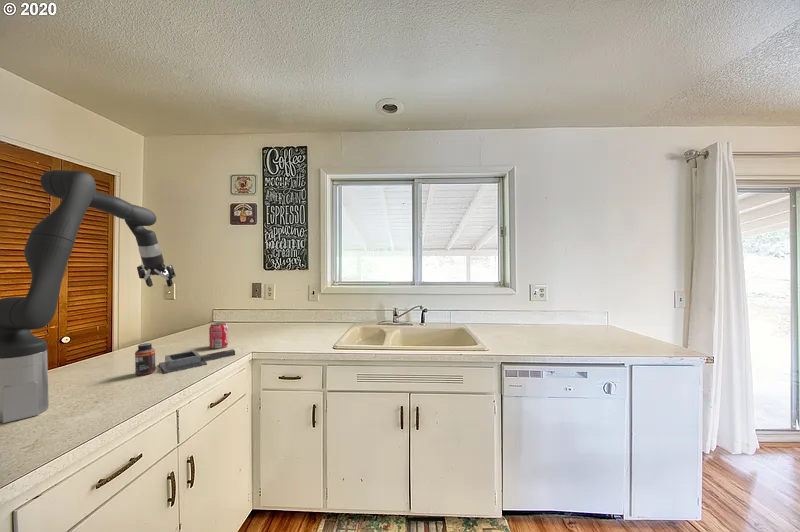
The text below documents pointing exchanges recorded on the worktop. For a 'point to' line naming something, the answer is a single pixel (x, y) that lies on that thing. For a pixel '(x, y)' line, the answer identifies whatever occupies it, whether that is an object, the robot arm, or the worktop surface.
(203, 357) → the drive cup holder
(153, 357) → the supplement bottle
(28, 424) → the worktop surface
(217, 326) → the beverage can
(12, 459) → the worktop surface
